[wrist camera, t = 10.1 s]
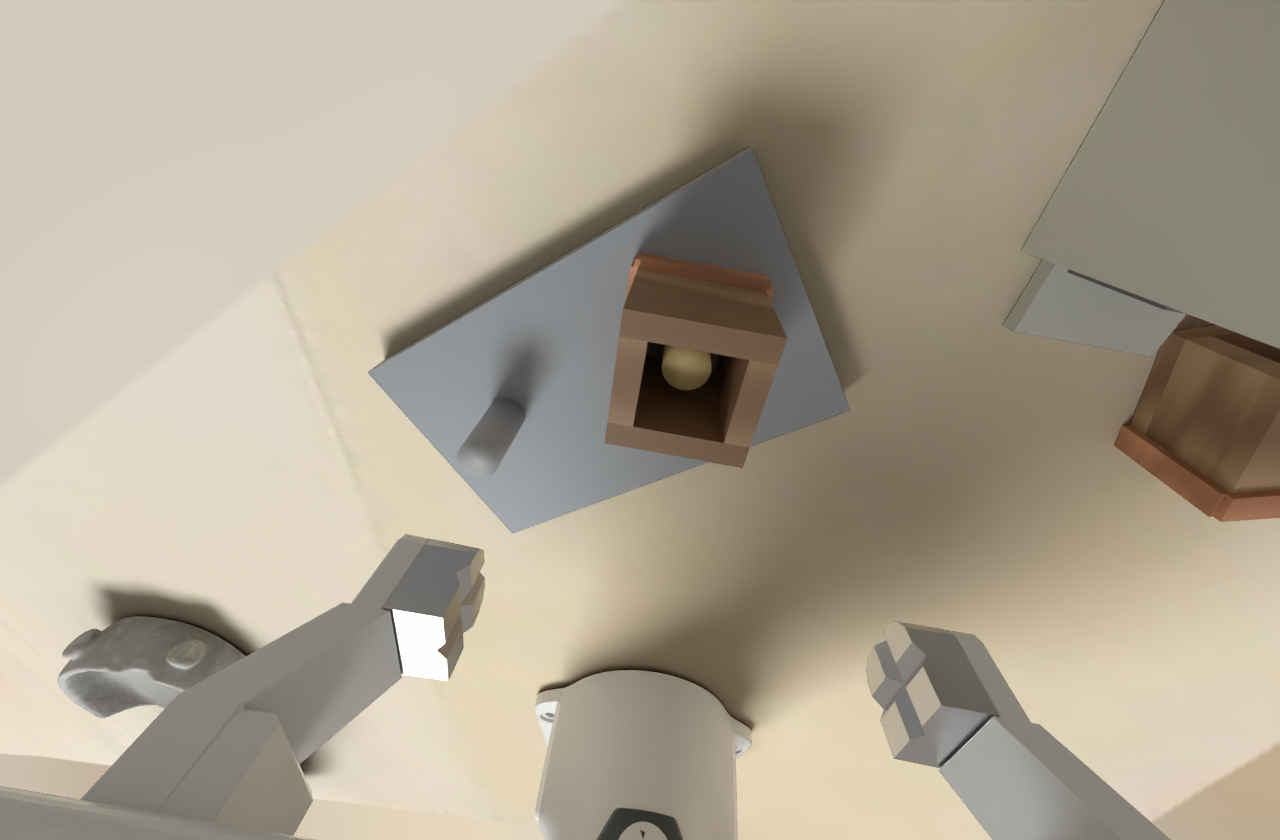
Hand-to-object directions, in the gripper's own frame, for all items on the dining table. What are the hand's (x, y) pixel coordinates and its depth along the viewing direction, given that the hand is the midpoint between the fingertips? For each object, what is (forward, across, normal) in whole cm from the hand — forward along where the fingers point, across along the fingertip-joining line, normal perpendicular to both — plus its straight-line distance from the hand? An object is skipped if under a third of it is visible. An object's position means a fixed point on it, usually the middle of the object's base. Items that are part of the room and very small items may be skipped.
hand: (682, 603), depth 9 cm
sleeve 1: (+14, 0, +1) cm, 14 cm away
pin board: (+15, -3, -3) cm, 16 cm away
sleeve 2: (+15, +24, +2) cm, 28 cm away
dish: (+17, -37, -39) cm, 56 cm away
